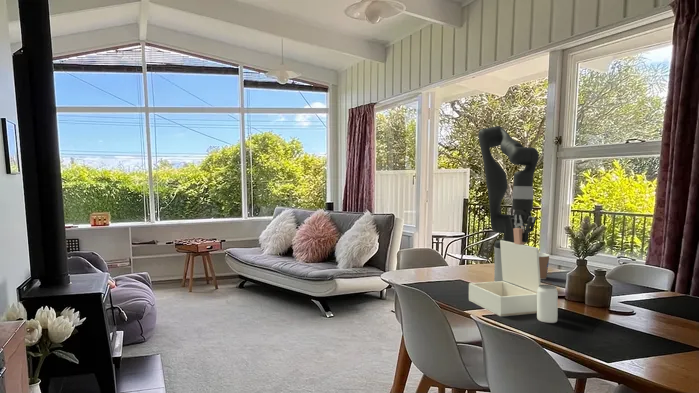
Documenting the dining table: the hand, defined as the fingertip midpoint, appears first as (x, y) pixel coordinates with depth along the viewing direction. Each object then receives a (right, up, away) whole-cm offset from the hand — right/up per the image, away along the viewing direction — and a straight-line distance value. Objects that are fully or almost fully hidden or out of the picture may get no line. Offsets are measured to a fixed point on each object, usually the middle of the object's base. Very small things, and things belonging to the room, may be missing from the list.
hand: (521, 241), depth 165 cm
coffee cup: (+29, -24, +48) cm, 61 cm away
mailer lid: (-1, -6, 0) cm, 7 cm away
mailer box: (-8, -25, -2) cm, 27 cm away
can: (+1, -26, -19) cm, 32 cm away
